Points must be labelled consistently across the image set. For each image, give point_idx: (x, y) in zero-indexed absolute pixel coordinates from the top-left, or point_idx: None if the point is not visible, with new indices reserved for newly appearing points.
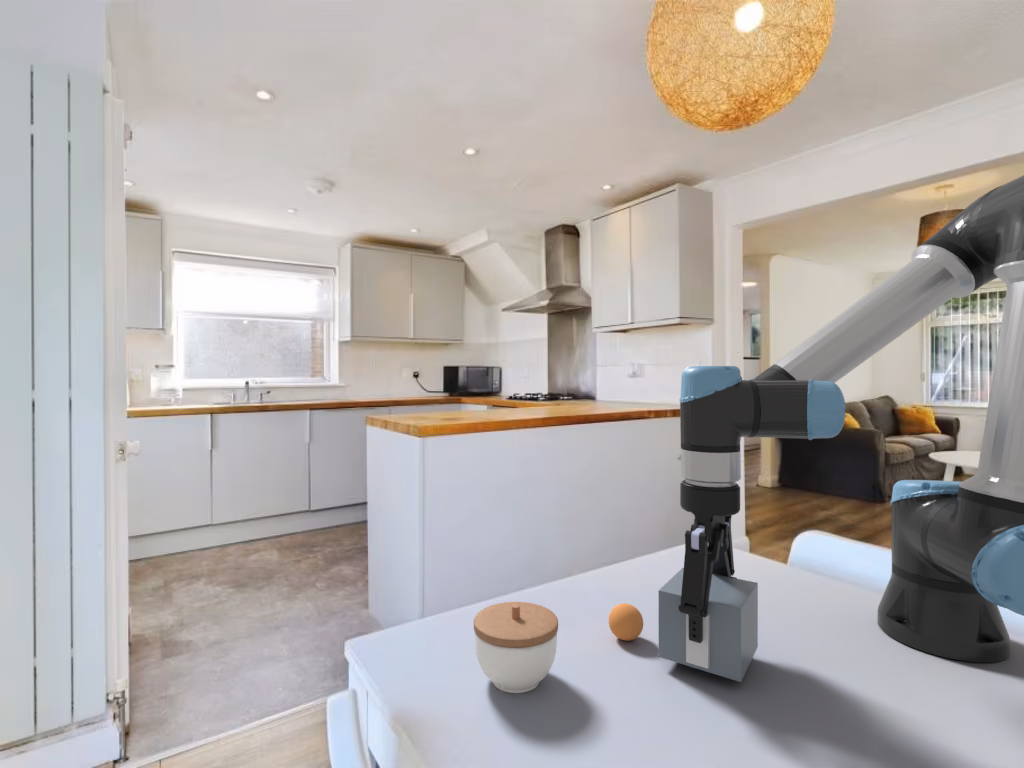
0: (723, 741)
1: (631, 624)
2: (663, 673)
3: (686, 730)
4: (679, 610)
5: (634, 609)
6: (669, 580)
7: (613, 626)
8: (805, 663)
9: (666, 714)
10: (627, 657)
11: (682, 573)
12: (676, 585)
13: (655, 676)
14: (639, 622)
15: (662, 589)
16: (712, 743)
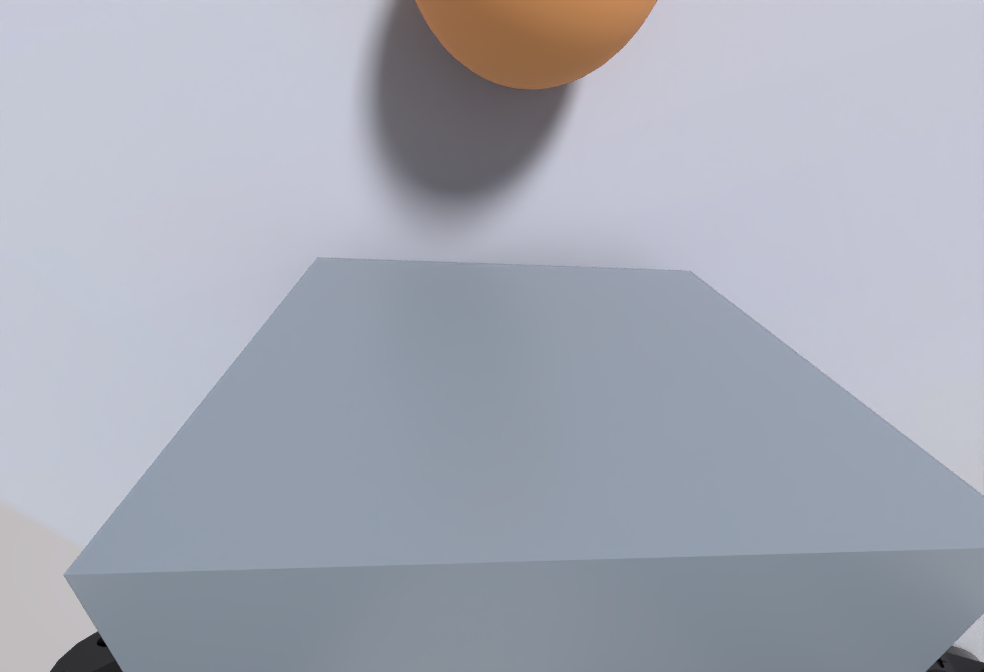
0: (93, 501)
1: (435, 26)
2: (305, 270)
3: (38, 424)
4: (84, 643)
5: (554, 2)
6: (520, 565)
7: None
8: None
9: (53, 356)
10: (320, 62)
11: (829, 592)
12: (399, 647)
13: (257, 249)
14: (500, 76)
15: (143, 594)
16: (56, 484)
